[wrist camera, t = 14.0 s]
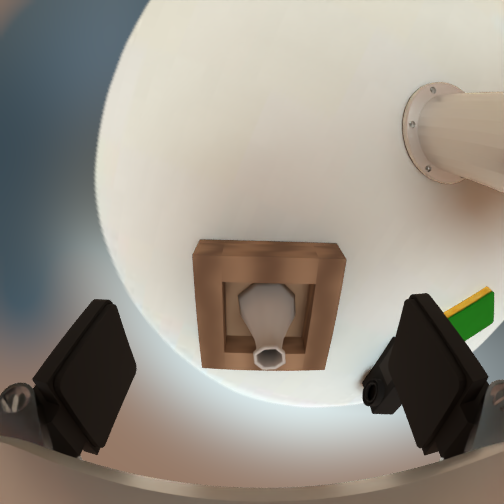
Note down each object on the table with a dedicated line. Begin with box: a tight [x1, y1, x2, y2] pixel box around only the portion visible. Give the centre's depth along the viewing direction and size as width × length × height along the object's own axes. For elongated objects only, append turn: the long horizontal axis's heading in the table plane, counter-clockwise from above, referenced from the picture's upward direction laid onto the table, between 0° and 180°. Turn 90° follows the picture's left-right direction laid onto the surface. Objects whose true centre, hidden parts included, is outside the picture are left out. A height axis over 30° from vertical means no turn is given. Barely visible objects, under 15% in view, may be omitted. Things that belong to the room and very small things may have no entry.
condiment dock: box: [192, 240, 346, 371], centre depth 36 cm, size 16×16×4 cm
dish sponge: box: [444, 287, 494, 341], centre depth 39 cm, size 7×14×2 cm, turn 117°
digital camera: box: [362, 337, 402, 414], centre depth 40 cm, size 10×5×7 cm, turn 164°
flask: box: [238, 283, 296, 370], centre depth 33 cm, size 7×7×10 cm
